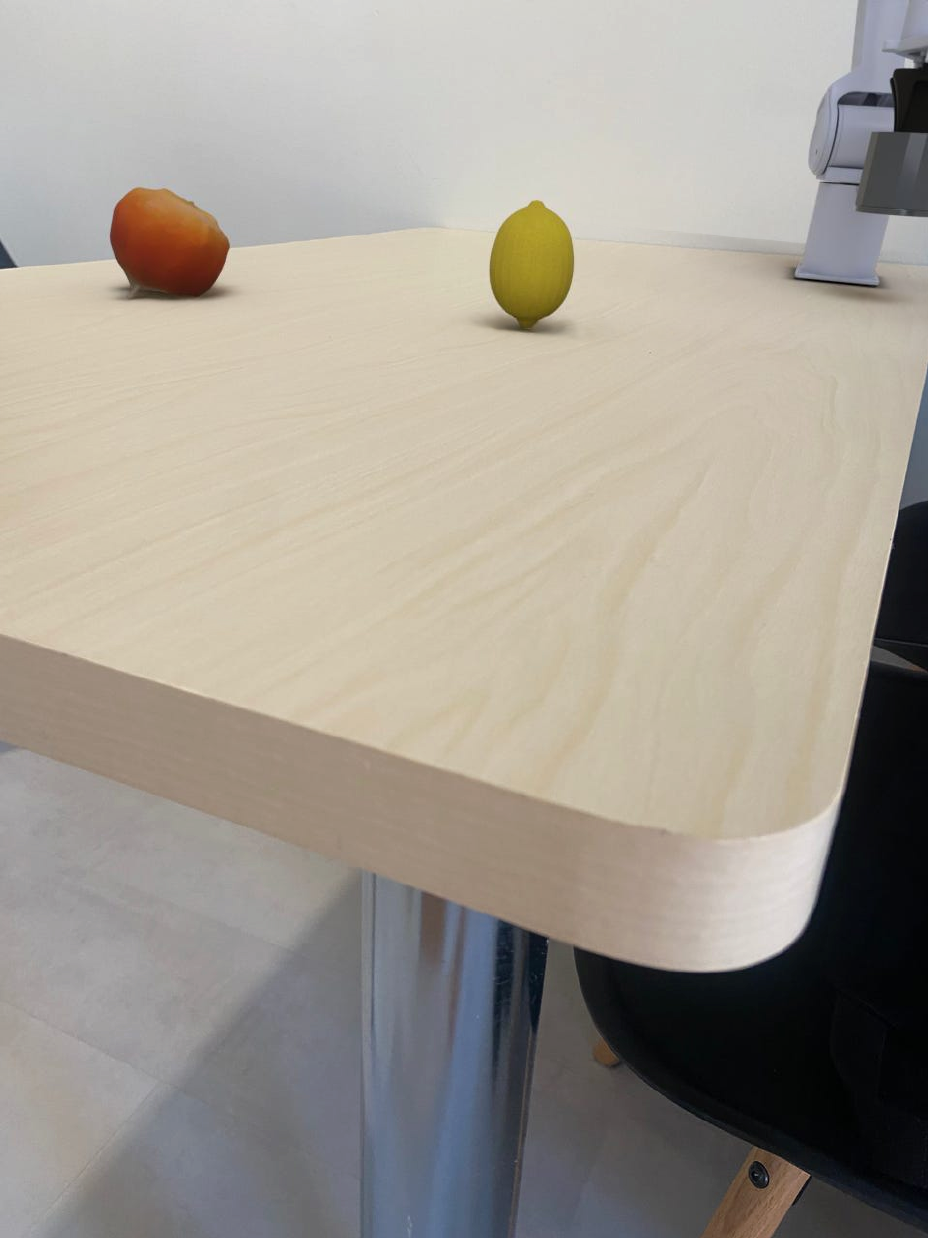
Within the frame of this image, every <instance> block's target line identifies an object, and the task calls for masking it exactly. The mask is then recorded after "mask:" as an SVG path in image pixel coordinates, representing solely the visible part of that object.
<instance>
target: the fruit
mask: <svg viewBox="0 0 928 1238" xmlns="http://www.w3.org/2000/svg"><path fill="white" fill-rule="evenodd" d="M109 241H110V246H111V249H112V252H113V255H114V258H115V261H116V262H117V264H118V266H119V267H120V269H121V270H122V271H123V273H124V275H125V276H126V278H127V280H128V283H129V287H131V291H130V292H129V293H128V295H127V296H126V297H127V298H128V299H132V297H134V295H135V294H137V293H138V292H142V291H143V292H144V291H155V292H160V293H165V294H170V295H175V296H182V297H184V296H185V297H194V298H198V297H201V296H203V295H204V294H206V293H207V292H208V291H210V290H211V289H212V287H213V286H214V285H215V284H216V282H217V280H218V278H219V276H220V275H221V273H222V272H223V269H224V267H225V264H226V262H227V258H228V254H229V252H230V248H231V244H230V241H229V238H228V236H227V235H226V234H225V233H224V231H223V230H222V229H221V228H220V226H219V223H218V220H217V219H216V217H215V216H213V215H212V214H211V213H210V212H207V211H206V210H203V209H202V208H199V207H198V205H197V206H196V205H195V202H194V201H192V200H190V201H189V200H187V199H185V198H183V197H180V196H179V195H178V194H176V193H175V192H173V191H172V190H170V189H168V188H165V187H163V188H159V189H153V188H152V189H151V188H148V187H147V188H146V187H140V186H139V187H134V188H132V189H131V190H130V191H128V192H127V193H126V194H125V195H124V196H123V197H122V198H121V199H120V200H119V201H117V203H116V205H115V207H114V208H113V214H112V219H111V224H110V232H109Z"/></svg>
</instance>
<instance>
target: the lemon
mask: <svg viewBox="0 0 928 1238" xmlns="http://www.w3.org/2000/svg"><path fill="white" fill-rule="evenodd" d="M574 271H575V250H574V243H573V239H572V234H571V232H570V230H569V227H568V226H567V224H566V222H565V221H564V220H563V219H562V217H561V216H559V215H558V213H556V212H555V211H553V210H552V209H549V208H548V207H547V206H546V205H545V203H544V202H543V201H542V200H538V199H536V200H531V201H530V202H529V203H528V205H527V206H524V207H522V208H520V209H518V210H516V211H514V212H512V213H511V214H510V215H509V216H508V217H507V218H506V219H505V220H504V221H503V222H502V224H501V225H500V227H499V228H498V231H497V232H496V235H495V238H494V240H493V245H492V248H491V253H490V259H489V283H490V288H491V292H492V294H493V297H494V299H495V301H496V303H497V304H498V305H499V307H500V308H501V309H502V310H503V311H504V312H505V313H506V314H508V315H509V316H511V317H512V318H514V319H515V320H516V322H517V324H518V325H519V326H520V327H521V329H524V330H529V329H533V328H534V326H535V325H536V324H537V323H538V322H540V320H543V319H544V318H547V317H549V316H551V315H552V314H554V313H555V312H556V311H558V309H559V308H561V306H562V305H563V304H564V302H565V300H566V299H567V296H568V295H569V292H570V289H571V287H572V282H573V278H574Z"/></svg>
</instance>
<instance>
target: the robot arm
mask: <svg viewBox="0 0 928 1238" xmlns="http://www.w3.org/2000/svg"><path fill="white" fill-rule="evenodd" d="M852 45H853V46H852V56H851V65H850V71H849V72H847V73H846V74H845V75H842V76H841V77H840V78H838V79H837V80H835V81H834V82H832V84H830V86H829V87H828V88H827V89H826V92H825V93H824V94H823V96H822V98H821V100H820V102H819V104H818V107H817V110H816V115H815V121H814V125H813V126H814V127H813V130H812V134H811V138H810V143H809V149H808V158H807V159H808V161H807V162H808V167H809V170H810V171H811V173H812V175H813V176H815V179H816V180H819V182H818V187H817V192H816V196H815V200H814V205H813V210H812V215H811V219H810V222H809V229H808V233H807V237H806V241H805V247H804V251H803V255H802V260H801V262H798V263H797V265H796V269H795V272H794V277H795V278H799V279H809V280H819V281H829V282H837V283H838V282H839V283H848V284H856V285H857V284H858V285H868V286H878V285H880V278H879V276H878V273H877V266H878V263H879V259H880V254H881V251H882V246H883V242H884V239H885V234H886V230H887V226H888V224H889V220H890V216H891V215H884V214H873V213H864V212H856V211H853V209H854V205H855V200H856V196H857V191H858V187H859V183H860V178H861V174H862V170H863V165H864V161H865V157H866V153H867V148H868V144H869V140H870V135H871V132H913V133H928V0H857V7H856V17H855V26H854V35H853V43H852ZM906 59H908V60H910V61H912V63H913V67H912V68H911V67H905V63H906V62H905V61H906Z"/></svg>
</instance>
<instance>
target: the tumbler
mask: <svg viewBox="0 0 928 1238" xmlns="http://www.w3.org/2000/svg"><path fill="white" fill-rule="evenodd" d="M853 211H856V212H864V213H873V214H884V215H890V216H899V217H913V218H928V133H913V132H871V135H870V140H869V144H868V148H867V153H866V157H865V161H864V165H863V170H862V174H861V178H860V183H859V187H858V191H857V196H856V200H855V205H854V209H853Z"/></svg>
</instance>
